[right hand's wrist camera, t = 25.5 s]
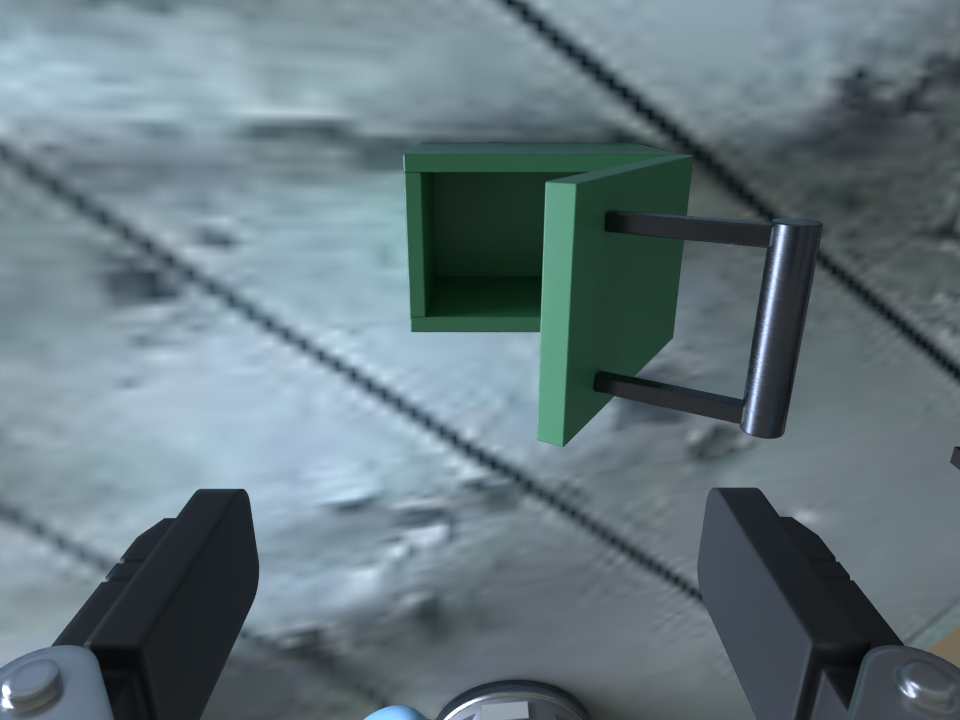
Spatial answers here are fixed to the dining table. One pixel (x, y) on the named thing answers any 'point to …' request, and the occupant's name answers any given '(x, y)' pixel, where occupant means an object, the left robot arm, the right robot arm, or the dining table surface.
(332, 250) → the dining table surface
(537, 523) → the dining table surface
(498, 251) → the chest
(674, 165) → the lid
